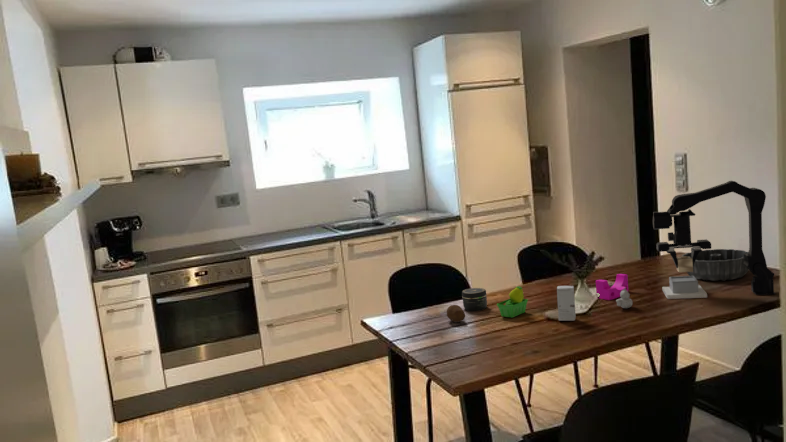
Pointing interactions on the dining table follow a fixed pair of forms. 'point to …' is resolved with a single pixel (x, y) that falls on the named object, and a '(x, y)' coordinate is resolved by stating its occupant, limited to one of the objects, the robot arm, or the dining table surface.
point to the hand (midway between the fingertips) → (684, 267)
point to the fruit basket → (513, 304)
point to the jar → (474, 299)
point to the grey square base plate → (684, 288)
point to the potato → (455, 313)
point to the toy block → (615, 290)
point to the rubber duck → (624, 299)
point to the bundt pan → (719, 264)
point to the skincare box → (566, 303)
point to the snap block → (685, 264)
